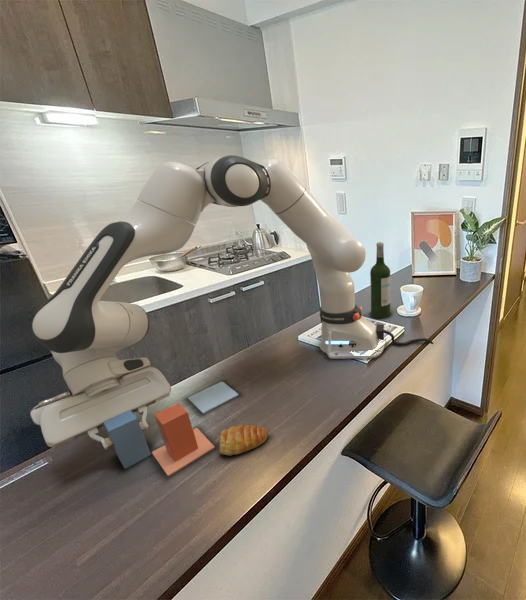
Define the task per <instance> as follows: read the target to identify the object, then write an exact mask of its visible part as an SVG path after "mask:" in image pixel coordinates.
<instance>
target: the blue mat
mask: <svg viewBox="0 0 526 600" xmlns="http://www.w3.org/2000/svg"><path fill="white" fill-rule="evenodd" d="M238 396H239V393H238V392H237V391H235V390H234V389H233V388H231V387H230V386H229V385H227V384H226V382H224V381H222V380H221V381H219V382H217V383H216V384H213V385H211V386H209V387H207V388H205V389H202V390H201V391H199V392H196V393H194V394H192V395H190V396H188V397H187V400H188V401H190V402H191V403H192V404H193V406H194V407H196V408H197V410H198V411H200V413H201V414H203V415H204V414H206V413H208V412H210V411H212V410H214V409H216V408H217V407H219V406H221V405H223V404H225V403H227V402H229V401H231V400H233V399H235V398H237V397H238Z"/></svg>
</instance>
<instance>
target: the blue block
mask: <svg viewBox="0 0 526 600" xmlns="http://www.w3.org/2000/svg"><path fill="white" fill-rule="evenodd" d="M139 422H140V421H139V420H138V417H137V416H136V415H135V412H134V413H133V412H132V411H131V410H129V411H127V412H125V413H122V414H120V415H118V416H116V417H113V418H111V419H109V420H107V421H104V422H103V424H104V429H105V431H106V434H107V435H108V437H110V438H111V440H112V442H113V444H114V446H112V448H113V449H114V452H115V454H116V456H117V458H118V459H119V461H120V463H121V465H122V467H123V469H125V470H126V469H128V468H130V467H131V466H134V465H135V464H137V463H139V462H141V461H143V460H144V459H146V458H148V457H149V456H152V452H151V451H150V448H149V446H148V442H147V440H146V438H145V435H144V433H143V431H142V430H141V427H140V425H139Z"/></svg>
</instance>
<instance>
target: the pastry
mask: <svg viewBox="0 0 526 600" xmlns="http://www.w3.org/2000/svg"><path fill="white" fill-rule="evenodd" d="M267 438H268V434H267V428H264V427H263V426H260V425H259V426H258V425H257V424H255V425H252V424H247V425H245V424H239V425H238V426H237V425H231V426H230V428H228V429H222V430H221V433H220V436H219V454H220V455H226V456H230V457H231V456H233V455H239V454H243V453H245V452H249V451H250V450H253V449H256V448H258V447H260V446H261V445H262V444H264V443H265V441H267Z"/></svg>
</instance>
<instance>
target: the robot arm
mask: <svg viewBox="0 0 526 600" xmlns="http://www.w3.org/2000/svg"><path fill="white" fill-rule="evenodd" d="M259 201H261V202H262V203H264V204H265V205H266V206H267V207H268V208H269V209H270V211H271V212H272V213H274V214H275V216H277V217H278V219H279V220H281V222H282V223H283V224H284V225H285V226H286V227H287V228H288V229H289V230H290V231H291V232H292V233H293V234H294V235H295V236H297V237H298V238H299V240H302V242H304V243H305V244H306V248H307V250H308V253H309V255H310V258H311V261H312V265H313V269H314V273H315V276H316V280H317V283H318V284H317V285H318V290H319V299H320V300H319V301H320V307H319V318H320V323H321V335H320V341H319V345H318V346H319V349H320V351H322V352H323V353H325V354H326V355H327V357H328V358H329V359H333V360H334V359H337V360H338V359H339V360H340V359H342V360H343V359H375V358H377V357H379V356H380V355H381V354H382V353H383V351H384V350H385V348H386V344H385V345H384V346H383V347H382V348H381V349H379V350H375V352H376V353H375V354H374V356H354V355H353V354H352V353H350V352H351V351H352V352H354V351H355V352H356V351H368V350H373V349H375V348H376V347H377V345H378V343H379V339H380V340H384V338H385V334H386V335H388V336H390V338H391V342H392V343H393V344H394V345H396V346H407V345H410V344H412V343H417V342H427V343H429V344H430V345H434V342H433V341H432V340H431V339H429V338H426V337H425V338H424V337H421V338H413V339H409V340H408V341H404V342H399V341H397V340H395V336H394V334H393V333H392V332H391V331H388V330H385V325H384V324H382V323H380V324H377V323H376V324H375V323H373V322H372V321H370V320H369V319H367V318H366V317H364V316H363V315H362V310H363V307H362V305H361V306H360V307H359V306H357V304H356V293H355V283H354V280H353V278H352V275H351V274H350V273H354V272H357V271H358V270H359V269H361V268H362V266H363V265H364V263H365V261H366V257H367V256H366V255H367V253H366V248H365V246H364V245H363V244H362V242H361V241H359V240H358V239H357V238H355V236H353V234H352V233H351V232H350V231H349V230H348V229H347V228H346V227H344V225H342V223H340V221H338V219H336V218H335V216H333V215H332V214H331V213H329V211H328V210H327V209H326V208H325V207H324V206H323V205H322V204H321V202H320V201H318V199H317V198H316V197H315V195H314V194H313V193H312V192H311V191H310V190H309V188H308V187H307V186H306V185H305V184H304V182H303V181H302V180H301V179H300V178H299V177H298V176H297V175H296V174H295V173H294V172H293V171H292V170H291V169H289V167H288V166H286V165H285V164H284V163H283V162H281V161H280V160H279V159H277V158H273V157H268V158H264V159H262V160H259V161H258V162H255V161H254V160H251V159H249V158H246V157H243V156H240V155H236V154H235V155H232V154H230V155H229V154H228V155H223V156H218V157H215V158H212V159H211V160H210V161H207V162H205V163H204V164H201V165H200V166H198V167H196V168H193V167H191V166H189V165H187V164H184V163H183V162H178V161H165V162H162V163H161V164H159V165H158V166H157V167H156V169H155V170H154V171H153V173H152V174H151V175H150V177H148V179H147V181H146V182H145V184H144V185H143V187H142V188H141V190H140V193H139V194H138V197H137V198H136V200H135V203H134V204H133V206H132V207H131V209H130V210H129V211H128V212H127V213H126V214H125V215H124V216H123V217H121V219H119V220H118V221H114V222H111V223H109V224H107V225H105V227H104V228H103V229H101V230H100V231H99V233H98V234H97V235H96V236H95V237H94V239H93V240H92V241H91V243H89V245H88V247H87V248H86V250H85V251H84V252H83V253H82V255H81V257H80V258H79V259H78V261H77V262H76V263H75V265H74V266H73V267H72V269H71V270H70V272H69V273H68V275H67V276H66V277H65V279H64V280H63V282H62V283H61V284H60V286H59V287H58V288H57V289H56V291H55V292H54V293H53V294H52V295H51V296H50V297H49V298H48V299H47V300H46V301H44V302H43V303H42V304H41V305H40V306H39V308H37V310H36V311H35V313H34V314H33V317H32V318H31V323H30V330H31V333H32V335H33V337H34V338H35V340H36V341H37V342H38V343H39V344H40V345H41V346H43V347H44V348H45V349H46V350H49V351H50V353H51V355H52V357H53V360H54V361H55V363H57V364H58V365H59V366H60V367H61V369H62V377H63V381H64V382H65V384H66V386H67V388H68V389H69V390H68V391H65V392H62V393H60V394H58V395H55V396H53V397H50V398H47V399H44V400H41V401H39V402H38V404H37V405H35V406H34V407H33V408H32V409H31V410H30V413H29V415H30V418H31V420H32V422H33V424H34V425H36V426H39V427H40V430H41V434H42V436H43V439H44V440H43V441H45V444H46V446H47V447H49V448H52V449H53V448H54V449H57V448H60V447H62V446H64V445H67V444H69V443H71V442H72V441H76V440H77V439H79V438H82V437H84V436H86V435H88V437H89V439H90V440H93V441H95V442H97V443H100V444H101V445H102V447H103V450H104V451H106V450H108V449H111V448H113V446H114V444H113V442H112V440H111V438H110V437H109V436H108V437H106V438H105V437H102V436H100V435H99V434H100V432H99V429H101V428H105V426H104V424H103V422H104V421H107V420H109V419H111V418H113V417H116V416H118V415H120V414H122V413H125V412H127V411H129V410H131V411H132V412H133V413H134V414H135V413H136V412H137V413H138V415H139V416H141V420H140V421H138V422H139V425H140V427H141V430H142V432H144V431H146V430H149V429H150V427H149V424H148V423H147V415H148V411H149V409H148V407H150V406H152V405H154V404H157V403H159V402H161V401H163V400H165V399H168V398H169V397H170V395H171V393H172V386H171V385H170V383H169V381H168V379H166V377H165V375H164V374H163V373H162V372H161V371H160V370H159V369H158V368H156V367H153V366H151V362H150V359H149V358H148V357H145V356H143V357H136V358H126V359H119V357H118V355H117V354H118V352H119V351H122V350H126V349H127V348H130V347H133V346H134V345H136V344H138V343H140V342H141V341H142V340H144V338H145V337H146V336H147V334H148V332H149V329H150V318H149V315H148V313H147V312H146V310H145V309H144V308H143V307H142V306H140V305H139V304H135V303H130V302H122V301H111V300H110V301H105V300H101V299H102V298H103V296H104V294H105V293H106V292H107V290H108V288H109V287H110V286H111V284H112V283H113V281H114V280H115V278H116V277H117V275H118V274H119V272H120V271H121V270H122V269H123V268H124V266H126V265H128V264H129V263H131V262H132V261H135V260H137V259H142V258H145V257H151V256H159V255H167V254H170V253H174V252H177V251H179V250H180V249H183V248H184V246H185V245H186V244H187V242H188V241H189V240H190V238H191V236H192V234H193V232H194V230H195V228H196V225H197V223H198V221H199V219H200V216H201V213H202V212H203V211H204V210H205V209H206V207H208V205H209V206H210V205H211V204H214V205H218V206H224V207H229V208H238V207H247V206H250V205H253V204H254V203H255V204H256V203H257V202H259ZM360 355H361V354H360Z"/></svg>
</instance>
